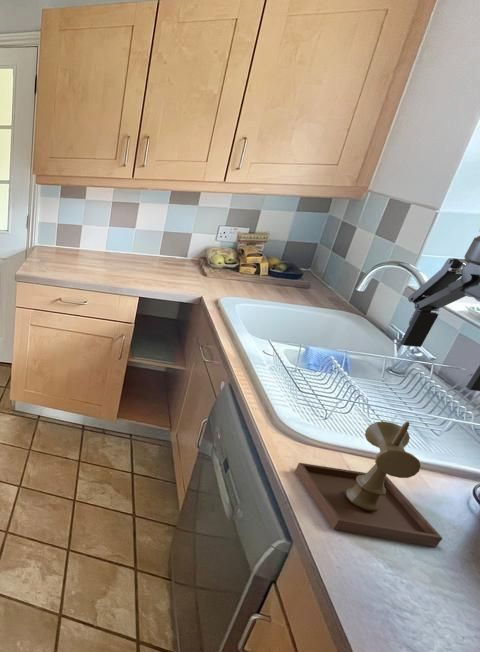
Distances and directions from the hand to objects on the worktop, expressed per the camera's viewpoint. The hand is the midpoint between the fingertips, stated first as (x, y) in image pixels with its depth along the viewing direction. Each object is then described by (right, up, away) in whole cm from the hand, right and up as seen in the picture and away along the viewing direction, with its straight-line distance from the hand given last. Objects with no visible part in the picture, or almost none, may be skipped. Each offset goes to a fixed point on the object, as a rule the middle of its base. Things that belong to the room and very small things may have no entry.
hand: (441, 365), depth 68 cm
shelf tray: (-1, -30, +14) cm, 33 cm away
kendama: (-1, -29, +13) cm, 32 cm away
